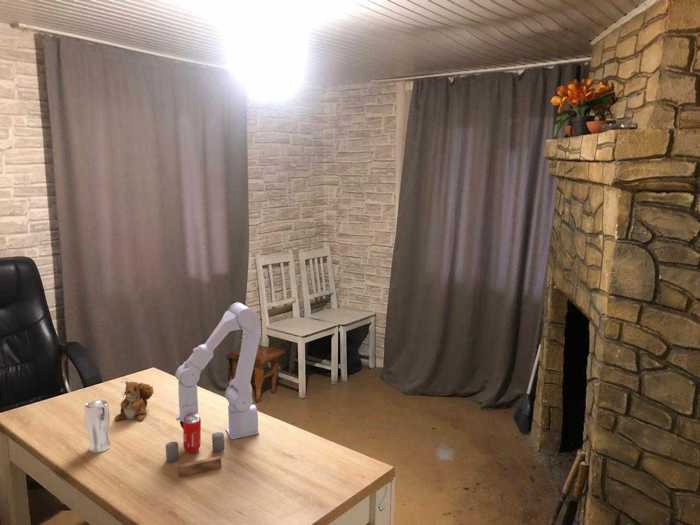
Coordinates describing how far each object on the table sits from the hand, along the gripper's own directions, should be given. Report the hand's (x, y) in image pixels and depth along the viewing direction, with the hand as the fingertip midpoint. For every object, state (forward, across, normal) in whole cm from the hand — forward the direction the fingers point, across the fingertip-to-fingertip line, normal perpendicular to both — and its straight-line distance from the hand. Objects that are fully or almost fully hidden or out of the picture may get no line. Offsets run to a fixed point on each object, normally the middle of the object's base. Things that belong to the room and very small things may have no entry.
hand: (190, 441), depth 174 cm
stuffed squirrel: (+2, -32, -14) cm, 35 cm away
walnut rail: (+2, +16, 0) cm, 16 cm away
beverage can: (+1, +3, 0) cm, 3 cm away
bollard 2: (+2, +6, +8) cm, 10 cm away
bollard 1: (+2, +6, -6) cm, 9 cm away
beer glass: (+2, -11, -26) cm, 29 cm away
